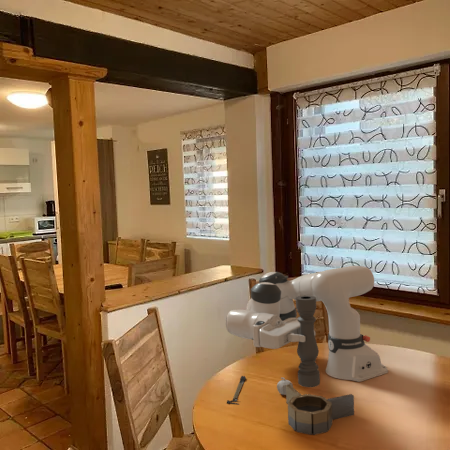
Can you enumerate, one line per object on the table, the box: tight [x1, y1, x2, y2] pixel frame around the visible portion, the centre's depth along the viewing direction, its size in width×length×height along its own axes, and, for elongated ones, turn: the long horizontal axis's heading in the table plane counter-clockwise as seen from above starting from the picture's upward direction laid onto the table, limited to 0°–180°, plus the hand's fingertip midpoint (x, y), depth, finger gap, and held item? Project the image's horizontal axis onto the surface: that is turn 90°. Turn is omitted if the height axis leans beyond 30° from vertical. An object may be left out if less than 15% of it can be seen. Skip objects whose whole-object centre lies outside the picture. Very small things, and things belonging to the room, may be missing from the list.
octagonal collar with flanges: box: [285, 384, 355, 436], centre depth 142 cm, size 20×20×6 cm
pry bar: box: [226, 375, 247, 405], centre depth 161 cm, size 21×7×1 cm, turn 166°
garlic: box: [276, 377, 294, 396], centre depth 157 cm, size 6×5×5 cm
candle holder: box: [295, 296, 321, 388], centre depth 134 cm, size 6×6×25 cm
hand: (310, 336), depth 134 cm, fingers closed on candle holder, 3 cm apart
